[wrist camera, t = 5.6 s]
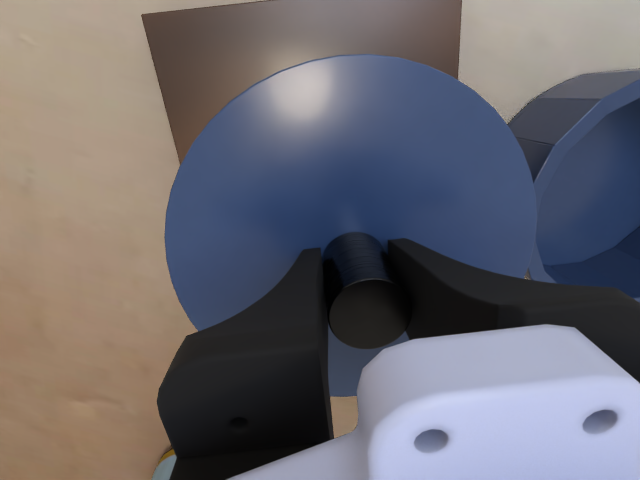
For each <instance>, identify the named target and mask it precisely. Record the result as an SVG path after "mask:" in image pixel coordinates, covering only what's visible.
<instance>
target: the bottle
mask: <svg viewBox="0 0 640 480" xmlns="http://www.w3.org/2000/svg"><path fill="white" fill-rule="evenodd" d="M176 458H177V457H176V455H175V452H174V450H173V449H172V450H170V451H169V452H167V453H166V454H165V455H163V457H162V458H161V459H160V461H159V463H158V465H157V468H156V469H155V472H154V474H153V477H152V479H151V480H169V479H170V476H171V473H172V470H173V467H174V464H175V461H176Z"/></svg>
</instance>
